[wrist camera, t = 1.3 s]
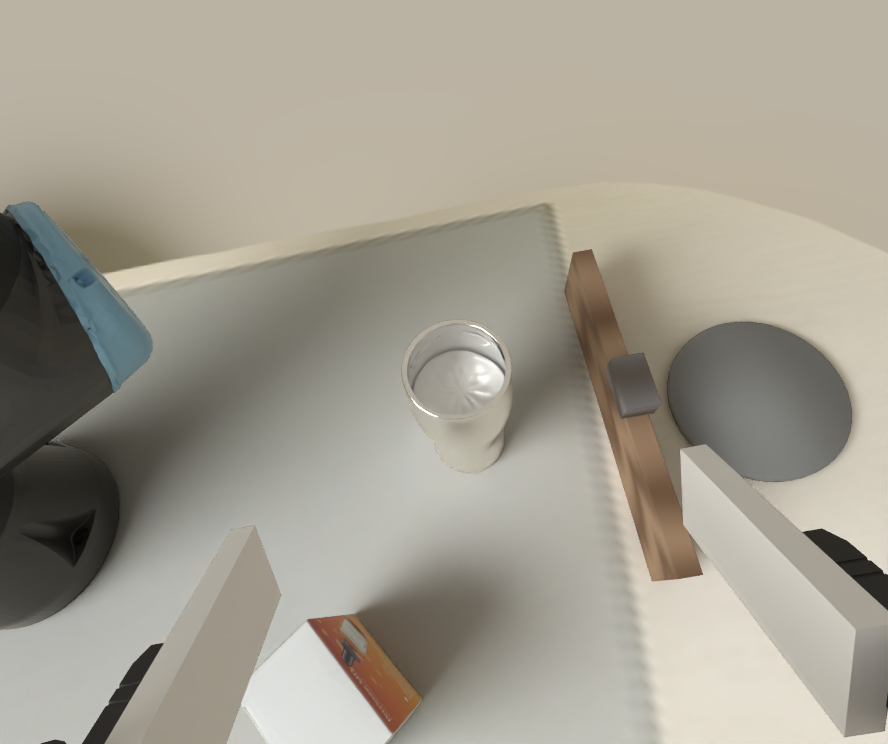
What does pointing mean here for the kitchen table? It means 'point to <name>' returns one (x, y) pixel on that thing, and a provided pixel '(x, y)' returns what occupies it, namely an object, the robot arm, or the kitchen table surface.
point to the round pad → (760, 401)
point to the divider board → (630, 424)
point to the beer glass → (460, 391)
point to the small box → (329, 688)
